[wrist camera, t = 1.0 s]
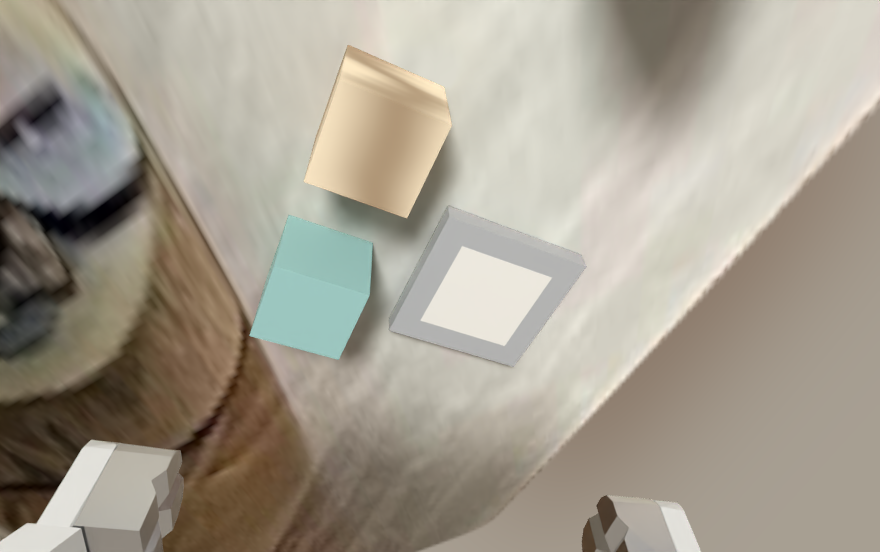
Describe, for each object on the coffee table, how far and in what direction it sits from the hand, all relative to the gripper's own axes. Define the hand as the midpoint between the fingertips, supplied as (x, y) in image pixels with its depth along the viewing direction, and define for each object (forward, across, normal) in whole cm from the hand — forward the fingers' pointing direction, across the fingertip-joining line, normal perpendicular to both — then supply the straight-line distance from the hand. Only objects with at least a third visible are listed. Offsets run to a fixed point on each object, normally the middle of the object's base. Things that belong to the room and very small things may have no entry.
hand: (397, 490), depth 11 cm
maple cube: (+22, +2, 0) cm, 22 cm away
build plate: (+23, -6, +10) cm, 26 cm away
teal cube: (+22, +4, +10) cm, 25 cm away
